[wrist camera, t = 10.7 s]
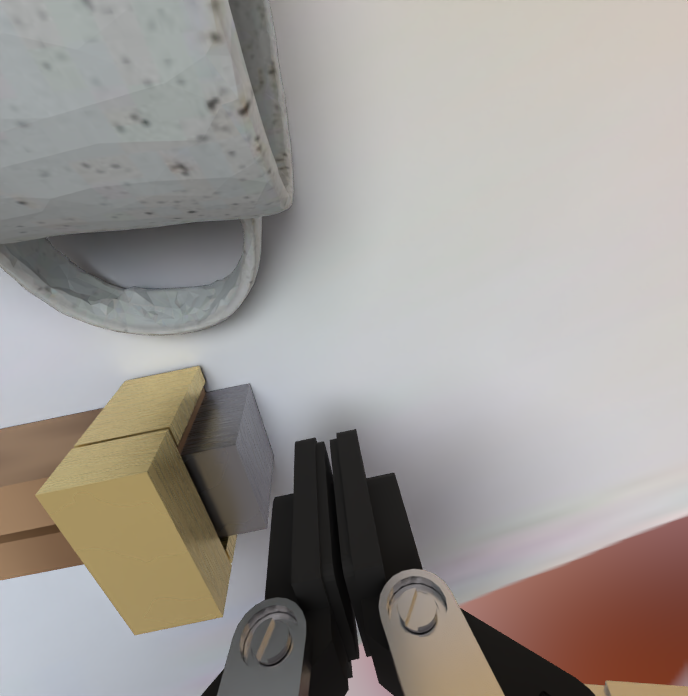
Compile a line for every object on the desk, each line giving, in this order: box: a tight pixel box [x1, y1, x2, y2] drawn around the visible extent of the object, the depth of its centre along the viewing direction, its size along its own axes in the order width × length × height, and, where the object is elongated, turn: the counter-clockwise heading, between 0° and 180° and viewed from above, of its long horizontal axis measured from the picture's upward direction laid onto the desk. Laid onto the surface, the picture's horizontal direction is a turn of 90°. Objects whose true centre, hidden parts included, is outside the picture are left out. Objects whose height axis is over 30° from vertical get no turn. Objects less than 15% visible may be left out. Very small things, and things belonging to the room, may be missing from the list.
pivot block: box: [180, 384, 274, 538], centre depth 13 cm, size 3×3×3 cm
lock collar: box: [35, 366, 237, 635], centre depth 12 cm, size 2×5×5 cm, turn 10°
